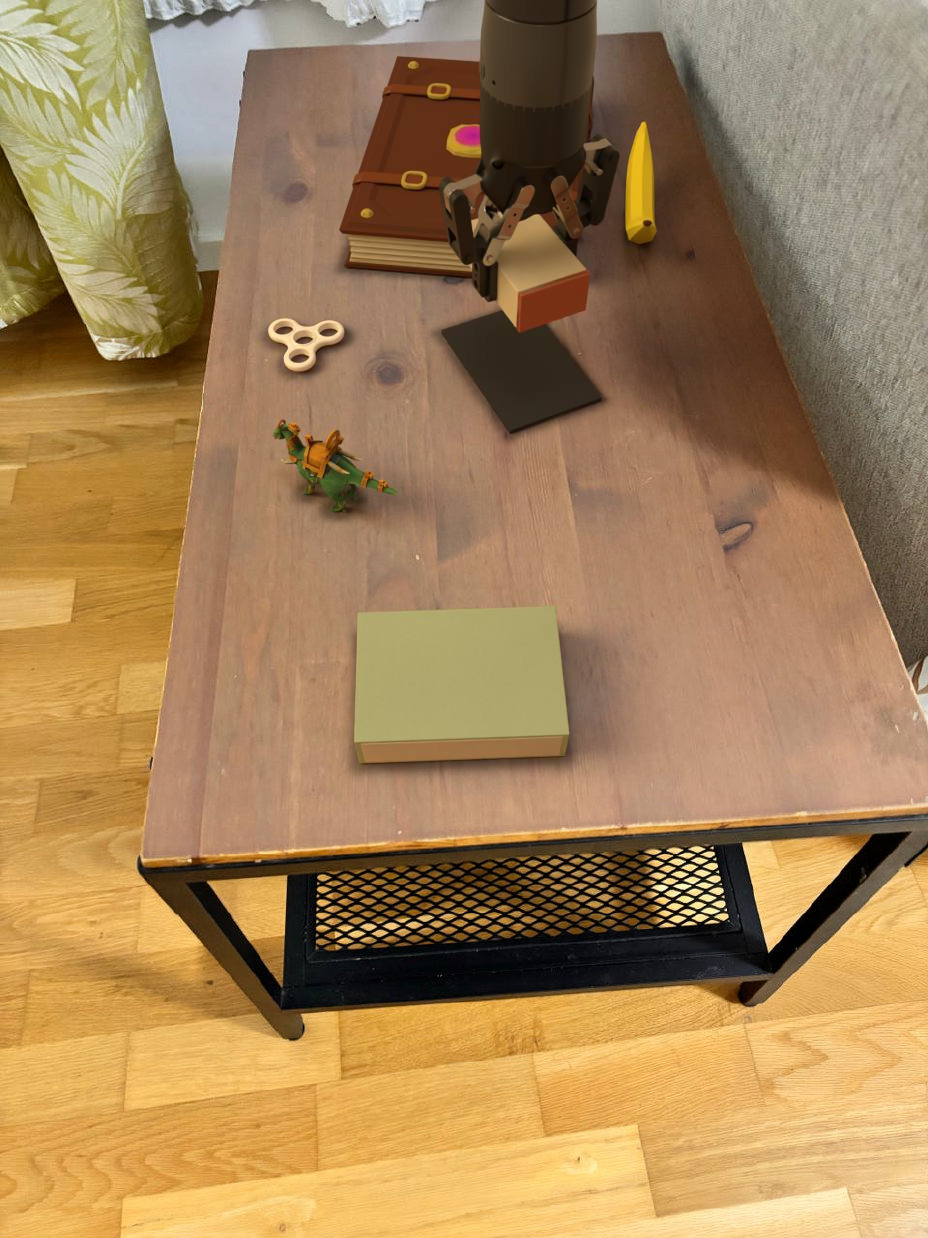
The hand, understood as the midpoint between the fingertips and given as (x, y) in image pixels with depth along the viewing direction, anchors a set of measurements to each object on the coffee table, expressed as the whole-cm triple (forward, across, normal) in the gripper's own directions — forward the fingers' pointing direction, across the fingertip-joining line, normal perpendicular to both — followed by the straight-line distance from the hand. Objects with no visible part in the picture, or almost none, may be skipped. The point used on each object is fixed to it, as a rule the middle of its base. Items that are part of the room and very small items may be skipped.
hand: (523, 283), depth 75 cm
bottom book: (+9, -19, -28) cm, 35 cm away
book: (+9, +9, +27) cm, 30 cm away
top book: (0, 0, 0) cm, 0 cm away
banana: (+9, +21, +14) cm, 26 cm away
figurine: (+9, -20, -8) cm, 23 cm away
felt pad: (+9, 0, 0) cm, 9 cm away
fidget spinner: (+9, -17, +10) cm, 22 cm away
